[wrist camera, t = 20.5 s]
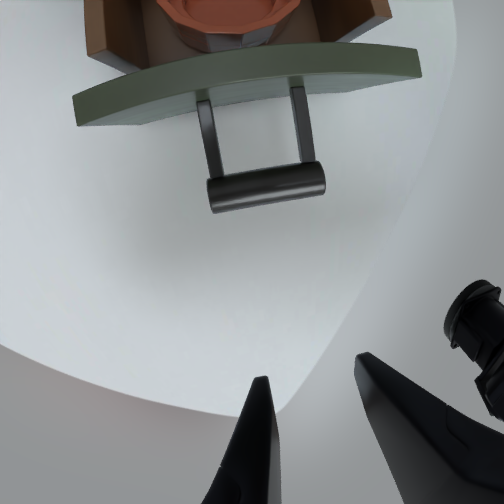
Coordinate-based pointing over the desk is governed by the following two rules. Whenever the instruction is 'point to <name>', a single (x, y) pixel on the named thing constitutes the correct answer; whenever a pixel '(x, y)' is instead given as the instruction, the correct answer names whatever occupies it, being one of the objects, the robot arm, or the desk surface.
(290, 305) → the desk surface
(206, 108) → the drawer
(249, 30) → the rice bowl
